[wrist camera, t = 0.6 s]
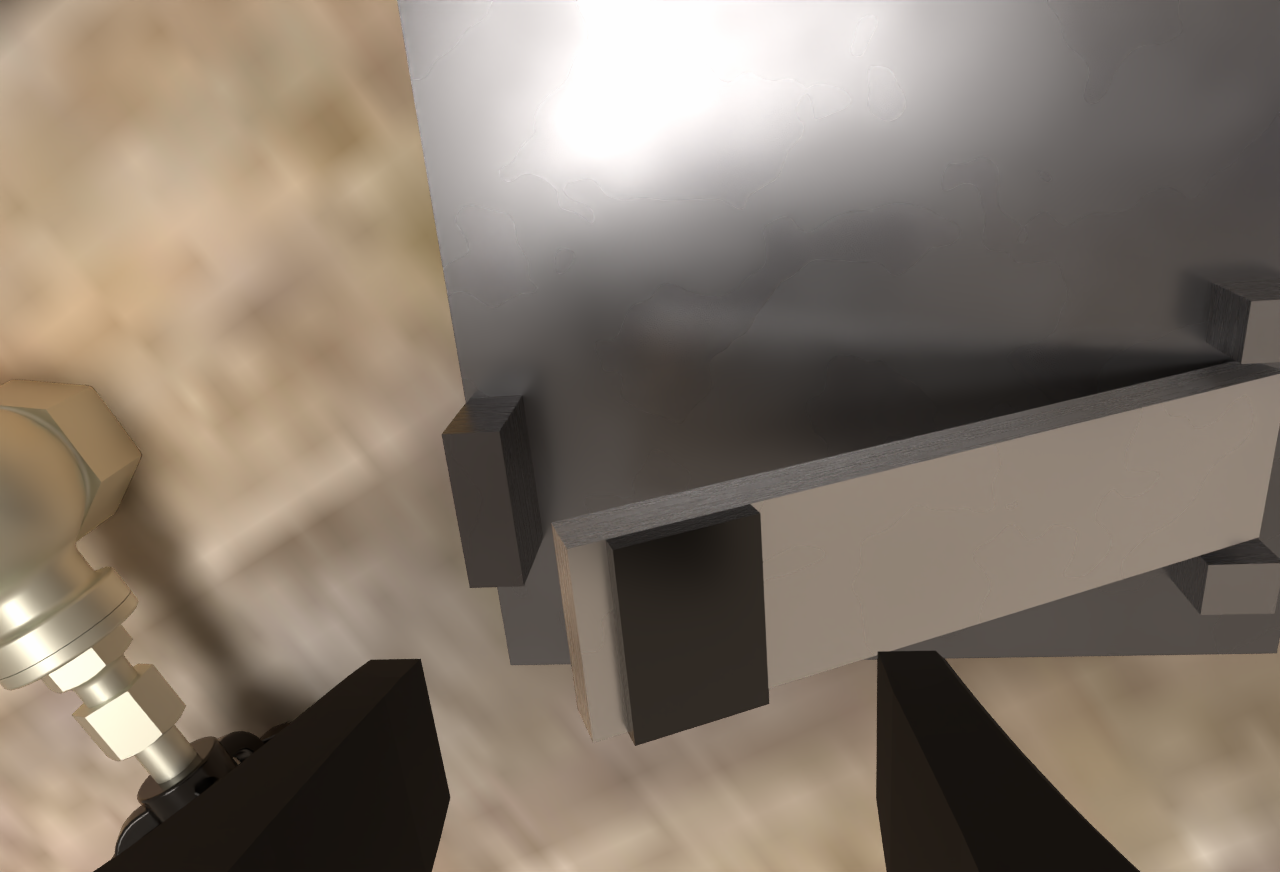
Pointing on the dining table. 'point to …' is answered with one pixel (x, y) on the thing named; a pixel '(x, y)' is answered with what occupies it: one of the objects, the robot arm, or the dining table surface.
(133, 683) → the valve
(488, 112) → the grey flat block
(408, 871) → the robot arm
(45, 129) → the dining table surface
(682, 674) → the steel strap
